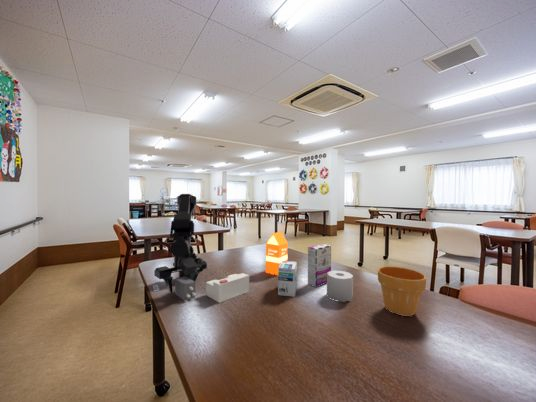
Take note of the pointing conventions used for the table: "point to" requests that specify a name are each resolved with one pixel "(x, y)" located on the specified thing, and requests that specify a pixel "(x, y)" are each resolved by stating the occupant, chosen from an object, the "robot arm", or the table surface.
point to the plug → (185, 288)
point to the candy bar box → (318, 264)
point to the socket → (228, 287)
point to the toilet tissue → (340, 285)
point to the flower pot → (401, 288)
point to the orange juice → (276, 252)
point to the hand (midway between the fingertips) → (182, 290)
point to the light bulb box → (287, 278)
